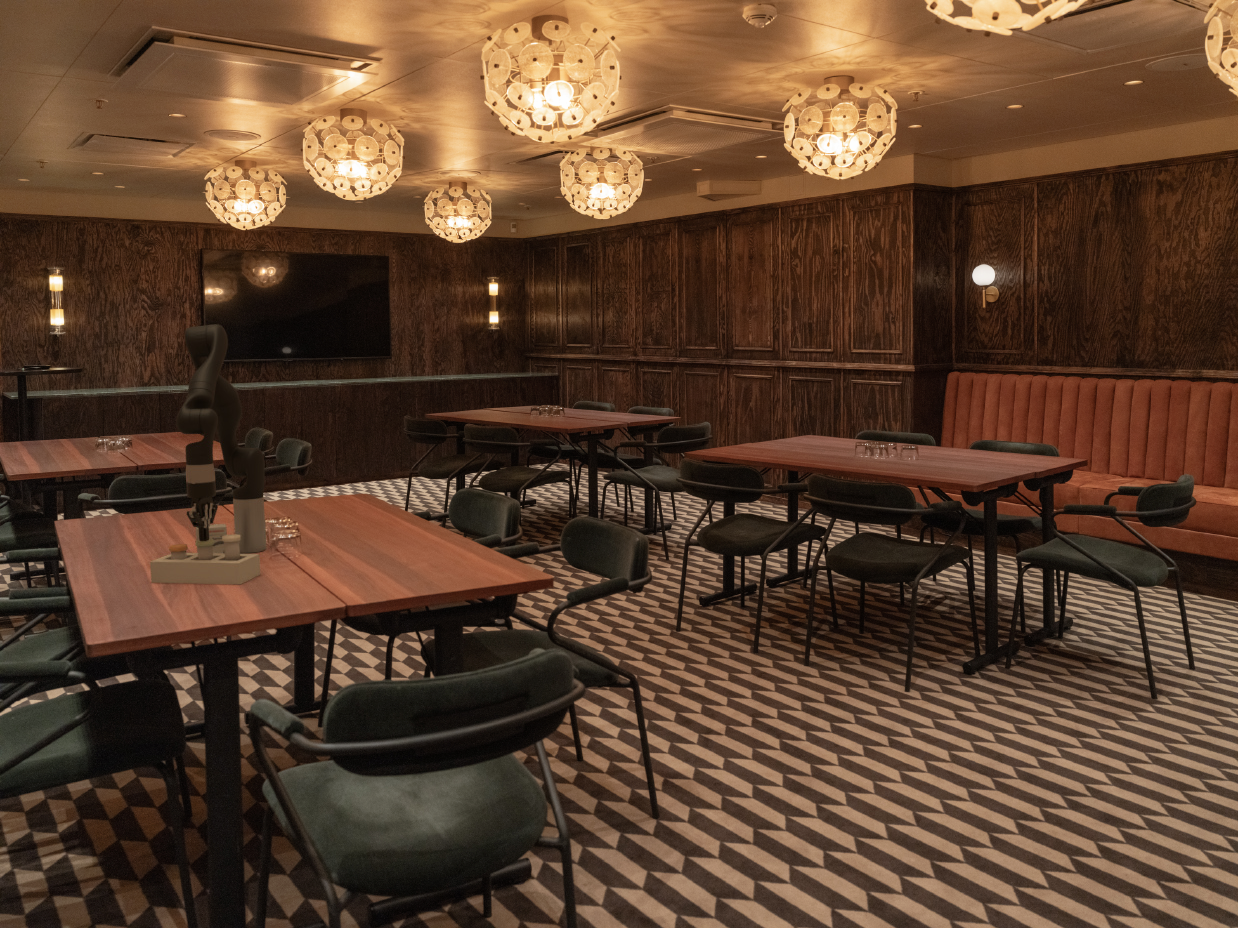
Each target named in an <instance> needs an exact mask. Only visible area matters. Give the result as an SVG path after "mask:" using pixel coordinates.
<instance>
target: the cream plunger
mask: <svg viewBox="0 0 1238 928" xmlns="http://www.w3.org/2000/svg"><path fill="white" fill-rule="evenodd" d="M239 540H241V539H240V535H238V534H235V533H232V534H227V535H224V536H222V541H223V542H224V554H225V561H238V560H240V554H241V553H240V549H239Z"/></svg>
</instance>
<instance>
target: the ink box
mask: <svg viewBox="0 0 1238 928" xmlns="http://www.w3.org/2000/svg"><path fill="white" fill-rule="evenodd" d="M227 531H228V530H227V524H226V523H218V524H217V523H216V524H215V523H213V524H210V527H209V539H213V540H214V545H213V553H224V542H223V541H222V536H224V535H228V533H227ZM195 537H196V540H199V529H198V528H197V527H195ZM196 540H195V541H196ZM196 553H198V551H197V550H196Z"/></svg>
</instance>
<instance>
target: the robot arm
mask: <svg viewBox="0 0 1238 928" xmlns="http://www.w3.org/2000/svg"><path fill="white" fill-rule="evenodd" d="M184 342H185V345H186V348H187V351H188V354H189V357H190V359H191V361H192V364H193V366H194V368H195V372H194V373H193V375H192V377H191V378H190V381H189V383H188V389H187V396H186V398H185V401H184V402H183V405H182V406H181V407H180V409H179V411H178V413H177V415H176V420H175V423H176V424H175V425H176V428H177V430H178V431H179V432H180V433H181V434H183V435H203V438H202V439H201V440H199V441H194V442H190V443H187V444H186V446H185V449H184V450H185V464H186V465H185V466H186V467H185V480H186V482H185V483H186V485H185V486H186V496H187V498H189V499H191V504H190V507H191V509H190V510H187V511H186V516H187V518H188V519H189V522H190V523H191V525H192V527H193V528H196V527H197V528H198V529H199V540H200V541H207V540H209V527H210V525H214V521H215V517H216V514H217V511H218V510H219V509H218V507H219V505H218V504H214V501H213V497H216V495H217V490H216V489H217V488H216V485H217V484H216V469H215V466H214V465H215V464H214V451H213V449H214V440H215V435H216V433H217V437H218V441H219V444H220V450H221V453H222V458H223V463H224V466H225V469H226V471H227V473H228V474H229V475H230V476H233V477H242V478H243V477H244V478H246V482H245V484H243V485H241V486H239V487H237V488H236V487H235V488H234V489H232V502H233V504H232V505H233V521H234V522H233V523H234V524H233V525H234V534H238V535H240V539H241V540H239V549H240V554H253V553H258V552H263V551H266V550H267V547H268V546H267V530H266V529H267V527H266V519H265V500H264V499H265V498H264V497H265V496H264V491H265V482H266V481H265V476H266V475H265V473H266V472H265V467H266V466H265V465H266V464H265V456H264V452H263V451H262V450H261V449H260V448H257V447H240V446H239V443H238V440H237V436H236V435H237V430H238V427H239V424H240V421H241V419H242V416H243V407H242V406H243V405H242V403H241V400H240V396H239V394H238V391H237V389H236V388H235V387H234V386H233V385H232V383H230V382H229V381H228V380H227V379H226V378H224V377H223V376H222V375H221V374H220V371H221V369H222V366H223V363H224V361H225V358H226V355H227V351H228V348H229V347H228V346H229V341H228V334H227V332H226V330H225V328H224V327H223V326H222V325H221V324H217V323H215V324H207V325H199V326H198V325H197V326H191V327H188V328H186V329H185V331H184Z"/></svg>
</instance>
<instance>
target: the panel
mask: <svg viewBox="0 0 1238 928" xmlns="http://www.w3.org/2000/svg"><path fill="white" fill-rule="evenodd" d="M186 555H187V558H186V559H184V560H171V553H170V554H166V555H165V556H162V557H159V558H156V559H153V560H151V561H149V565H150V582H151V584H152V583H153V584H155V583H156V584H157V583H158V584H160V583H161V584H190V585H191V584H194V585H198V584H199V585H240V586H241V585H242V584H244V583H246V582H249V581H250V580H252V579H254V578H257V577H259V576H261V562H260V561H261V560H260V553H240V560H238V561H225V554H224V553H213V559H212V560H198V553H197V552H186Z"/></svg>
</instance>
